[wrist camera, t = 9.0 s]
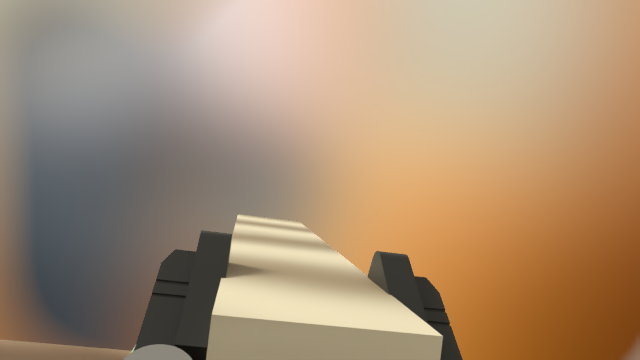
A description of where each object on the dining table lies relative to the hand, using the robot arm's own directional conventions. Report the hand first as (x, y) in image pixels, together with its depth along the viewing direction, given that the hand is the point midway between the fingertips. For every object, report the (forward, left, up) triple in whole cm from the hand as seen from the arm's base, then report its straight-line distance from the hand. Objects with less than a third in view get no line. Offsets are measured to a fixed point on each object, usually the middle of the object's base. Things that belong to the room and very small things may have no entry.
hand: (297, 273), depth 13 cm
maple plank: (-4, +5, -3) cm, 7 cm away
